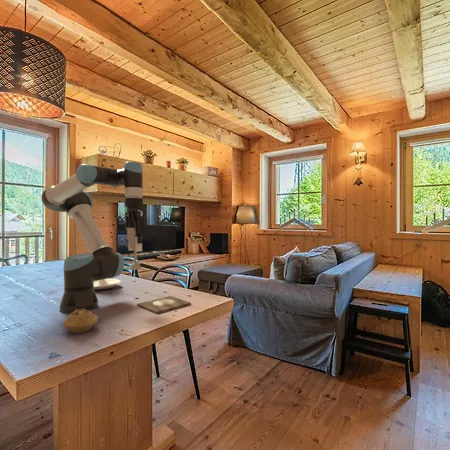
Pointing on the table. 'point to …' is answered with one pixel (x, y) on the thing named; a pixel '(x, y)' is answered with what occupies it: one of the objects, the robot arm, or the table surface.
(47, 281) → the table surface
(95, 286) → the candlestick
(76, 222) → the robot arm
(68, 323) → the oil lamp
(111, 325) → the table surface
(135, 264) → the chalice
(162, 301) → the board
